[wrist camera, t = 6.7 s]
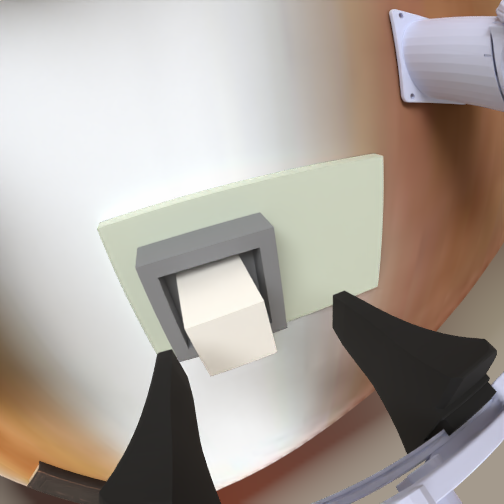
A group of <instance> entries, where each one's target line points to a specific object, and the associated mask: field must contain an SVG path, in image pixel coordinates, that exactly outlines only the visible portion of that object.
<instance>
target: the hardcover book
mask: <svg viewBox="0 0 504 504" xmlns="http://www.w3.org/2000/svg"><path fill="white" fill-rule="evenodd" d="M105 483H106V481H102V480H98V479H94V478H90V477H87V476H83V475H80V474H76V473H73V472H70V471H67V470H63V469H60V468H58V467H55V466H52V465H49V464H46V463H44V462H41V461H39V465H38V467H37V468H36V470H35V471H34V473H33V475H32V476H31V478H30V479H29V484H28V486H27V487H29V488H32V489H34V490H37V491H40V492H42V493H45V494H49V495H52V496H55V497H58V498H62V499H65V500H69V501H73V502H76V503H81V504H99V491H100V490H101V488H102V487H103V486H104V484H105Z"/></svg>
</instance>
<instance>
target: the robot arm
mask: <svg viewBox="0 0 504 504" xmlns="http://www.w3.org/2000/svg"><path fill="white" fill-rule="evenodd" d="M496 13H497V16H466V17H448V18H436V19H428V18H425V17H422V16H418V15H415V14H411V13H407V12H404V11H400V10H396V9H393V10H390V12H389V15H390V20H391V25H392V30H393V36H394V42H395V48H396V55H397V62H398V70H399V78H400V88H401V97H402V100H403V101H404V102H419V103H446V104H461V105H465V104H470V105H475V106H480V107H485V108H489V109H494V110H498V111H502V112H504V0H502V1H501V2H500V4H499V7H498V8H497V9H496ZM399 15H400V17H399ZM410 96H411V97H410ZM333 329H334V331H335V332H336V334H337V336H338V338H339V340H340V341H341V343H342V345H343V346H344V347H345V349H346V350H347V351H348V353H349V354H350V355H351V357H352V358H353V359H354V360H355V362H356V363H357V364H358V366H359V367H360V368H361V370H362V371H363V372H364V373H365V375H366V376H367V377H368V379H369V380H370V382H371V383H372V385H373V386H374V388H375V389H376V391H377V393H378V395H379V396H380V398H381V400H382V401H383V403H384V405H385V407H386V409H387V411H388V413H389V415H390V416H391V419H392V421H393V423H394V425H395V427H396V429H397V431H398V433H399V436H400V438H401V440H402V443H403V445H404V448H405V450H406V452H407V455H406V456H404V457H403V458H401V459H400V460H398V461H396V462H395V463H393V464H391V465H390V466H388V467H386V468H384V469H383V470H381V471H379V472H377V473H375V474H374V475H372V476H370V477H368V478H366V479H364V480H362V481H360V482H358V483H357V484H354V485H352V486H350V487H348V488H346V489H344V490H342V491H340V492H338V493H335V494H333V495H331V496H328V497H326V498H324V499H321V500H319V501H316V502H314V503H311V504H351V503H353V502H355V501H357V500H359V499H361V498H363V497H365V496H367V495H369V494H371V493H372V492H374V491H376V490H378V489H380V488H382V487H383V486H385V485H387V484H389V483H390V482H392V481H394V480H395V479H397V478H399V477H400V476H402V475H404V474H405V473H407V472H408V471H410V470H411V469H413V468H414V467H416V466H417V465H419V464H420V463H422V462H423V461H425V460H426V461H425V463H424V464H423V465H422V466H420V467H419V468H418V469H416V470H415V471H414V472H412V473H411V474H409V475H408V476H407V478H406V479H404V480H403V481H402V482H401V483H400V484H398V485H397V486H396V488H397V490H398V491H399V493H397V494H396V495H394V496H392V497H391V498H389V499H387V500H385V501H384V502H382V503H380V504H463V503H462V502H461V500H460V499H459V497H458V496H457V494H456V493H455V491H454V490H453V489H454V488H455V487H457V486H458V485H459V484H460V483H461V482H462V481H463V480H465V479H466V478H467V477H468V476H469V475H470V474H471V473H472V472H473V471H474V470H475V469H476V468H477V467H478V466H479V465H480V464H481V463H482V462H483V461H484V460H485V459H486V458H487V457H488V456H489V455H490V454H491V453H492V452H493V451H494V450H495V449H496V448H497V447H498V445H499V444H500V443H501V442H502V441H503V440H504V372H503V373H502V374H501V375H500V376H499V377H498V378H497V379H496V380H495V381H494V383H493V384H492V385H490V384H489V383H488V381H489V379H490V378H489V377H488V376H487V374H486V373H487V371H488V370H489V368H490V366H491V365H492V363H493V361H494V359H495V358H496V355H497V350H496V349H495V348H494V347H493V346H492V345H491V344H490V343H489V342H488V341H486V340H485V339H478V338H466V337H458V336H453V335H448V334H443V333H439V332H435V331H432V330H428V329H425V328H422V327H419V326H416V325H413V324H411V323H408V322H406V321H403V320H401V319H399V318H396V317H394V316H392V315H390V314H388V313H386V312H384V311H382V310H380V309H378V308H376V307H374V306H372V305H370V304H368V303H367V302H365V301H363V300H361V299H359V298H358V297H356V296H354V295H352V294H350V293H348V292H347V291H345V290H344V291H342V292H339V293H337V294H334V295H333ZM99 504H221V502H220V500H219V497H218V495H217V492H216V489H215V487H214V484H213V481H212V479H211V476H210V473H209V470H208V467H207V464H206V461H205V457H204V454H203V451H202V447H201V442H200V437H199V431H198V425H197V419H196V413H195V406H194V400H193V395H192V391H191V388H190V384H189V380H188V377H187V375H186V373H185V372H184V370H183V368H182V366H181V364H180V363H179V361H178V359H177V357H176V355H175V354H174V352H173V350H172V349H170V350H166V351H163V352H159V353H158V354H157V358H156V363H155V368H154V372H153V377H152V381H151V384H150V388H149V392H148V396H147V399H146V402H145V405H144V408H143V411H142V414H141V417H140V420H139V422H138V425H137V427H136V430H135V432H134V435H133V437H132V439H131V441H130V443H129V445H128V447H127V449H126V451H125V453H124V455H123V457H122V458H121V460H120V462H119V463H118V465H117V467H116V468H115V470H114V472H113V473H112V475H111V476H110V477H109V479H108V480H107V482H106V483H105V484H104V486H103V487H102V488H101V490H100V491H99Z"/></svg>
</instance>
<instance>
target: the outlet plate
mask: <svg viewBox="0 0 504 504" xmlns="http://www.w3.org/2000/svg"><path fill="white" fill-rule="evenodd" d="M382 224H383V156H381V155H378V154H369V155H363V156H357V157H351V158H345V159H340V160H335V161H329V162H324V163H319V164H314V165H309V166H304V167H300V168H295V169H290V170H286V171H281V172H277V173H272V174H268V175H264V176H259V177H255V178H251V179H247V180H243V181H239V182H235V183H231V184H227V185H223V186H219V187H215V188H212V189H208V190H204V191H201V192H197V193H193V194H190V195H186V196H183V197H179V198H176V199H172V200H169V201H166V202H162V203H159V204H156V205H152V206H149V207H146V208H143V209H140V210H136V211H133V212H130V213H127V214H124V215H121V216H118V217H115V218H112V219H109V220H106V221H103V222H100V223H99V226H98V228H97V230H98V232H99V235H100V237H101V240H102V242H103V245H104V247H105V250H106V252H107V254H108V257H109V259H110V261H111V264H112V266H113V268H114V271H115V273H116V275H117V277H118V279H119V282H120V284H121V286H122V288H123V290H124V292H125V294H126V296H127V298H128V300H129V303H130V305H131V307H132V309H133V311H134V313H135V315H136V316H137V318H138V320H139V322H140V324H141V326H142V328H143V330H144V332H145V334H146V335H147V337H148V339H149V341H150V343H151V345H152V346H153V348H154V350H155V352H156V353H157V354H158V353H159V352H163V351H166V350H170V349H172V350H173V352H174V354H175V355H176V357H177V358H178V360H179V362H181V361H185V360H189V359H192V358H196V357H199V355H198V353H197V351H196V350H195V348H194V346H193V344H192V342H191V340H190V338H189V337H188V335H187V333H186V331H185V329H184V323H183V317H182V311H181V305H180V299H179V293H178V286H177V280H176V273H175V272H179V271H182V270H186V269H189V268H192V267H196V266H199V265H202V264H206V263H209V262H212V261H216V260H219V259H222V258H226V257H229V256H232V255H236V254H238V255H239V257H240V259H241V260H242V262H243V264H244V266H245V268H246V269H247V271H248V273H249V275H250V277H251V278H252V280H253V282H254V284H255V286H256V287H257V289H258V291H259V293H260V295H261V296H262V298H263V300H264V303H265V307H266V311H267V314H268V318H269V322H270V326H271V330H272V333H274V332H277V331H280V330H283V329H285V328H287V322H288V321H291V320H294V319H297V318H299V317H302V316H305V315H308V314H310V313H313V312H316V311H318V310H321V309H323V308H326V307H329V306H331V305H333V295H334V294H337V293H339V292H342V291H344V290H345V291H347V292H348V293H350V294H352V295H354V296H356V295H358V294H361V293H363V292H366V291H368V290H370V289H373V288H375V287H377V286H378V279H379V269H380V257H381V243H382Z"/></svg>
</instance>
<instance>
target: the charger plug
mask: <svg viewBox="0 0 504 504" xmlns="http://www.w3.org/2000/svg"><path fill="white" fill-rule="evenodd" d="M175 273H176V280H177V286H178V293H179V299H180V305H181V311H182V317H183V323H184V329H185V331H186V333H187V335H188V337H189V338H190V340H191V342H192V344H193V346H194V348H195V350H196V351H197V353H198V355H199V357H200V359H201V360H202V362H203V364H204V366H205V367H206V369H207V371H208V373H209V374H210V376H214V375H217V374H220V373H223V372H226V371H228V370H231V369H234V368H237V367H240V366H242V365H245V364H248V363H250V362H253V361H256V360H258V359H261V358H264V357H266V356H269V355H271V354H274V353H276V352H277V349H276V345H275V341H274V337H273V333H272V330H271V326H270V322H269V318H268V314H267V311H266V307H265V303H264V300H263V298H262V296H261V295H260V293H259V291H258V289H257V287H256V286H255V284H254V282H253V280H252V278H251V277H250V275H249V273H248V271H247V269H246V268H245V266H244V264H243V262H242V260H241V259H240V257H239V255H238V254H236V255H232V256H229V257H226V258H222V259H219V260H216V261H212V262H209V263H206V264H202V265H199V266H196V267H192V268H189V269H186V270H182V271H179V272H175Z"/></svg>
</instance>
